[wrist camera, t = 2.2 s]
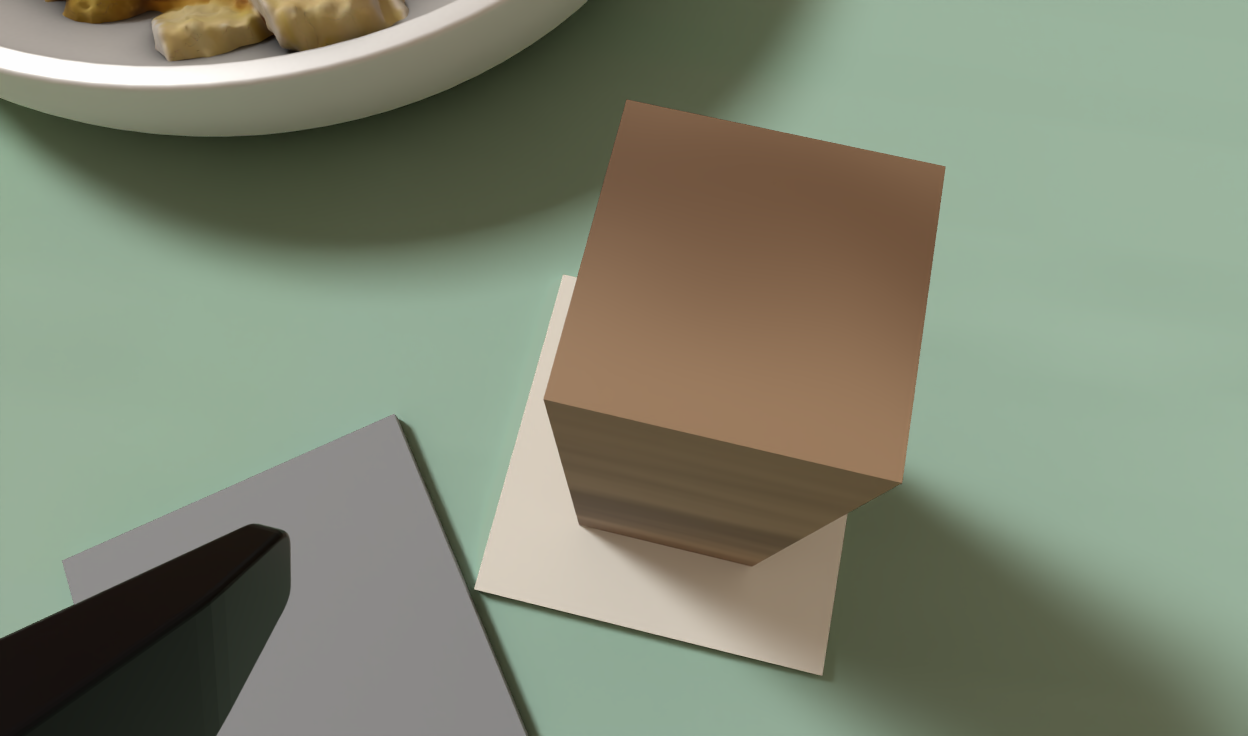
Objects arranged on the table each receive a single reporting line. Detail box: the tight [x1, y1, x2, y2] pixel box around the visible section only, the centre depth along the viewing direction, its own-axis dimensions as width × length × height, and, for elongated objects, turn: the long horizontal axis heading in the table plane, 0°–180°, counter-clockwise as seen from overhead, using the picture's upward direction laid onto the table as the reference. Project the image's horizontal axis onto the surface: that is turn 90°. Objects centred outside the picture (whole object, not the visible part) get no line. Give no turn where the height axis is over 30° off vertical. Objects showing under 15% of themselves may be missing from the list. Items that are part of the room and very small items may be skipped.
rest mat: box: [62, 414, 528, 736], centre depth 21 cm, size 9×9×1 cm
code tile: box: [474, 275, 848, 676], centre depth 23 cm, size 9×9×1 cm
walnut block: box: [543, 100, 945, 567], centre depth 17 cm, size 5×5×12 cm
